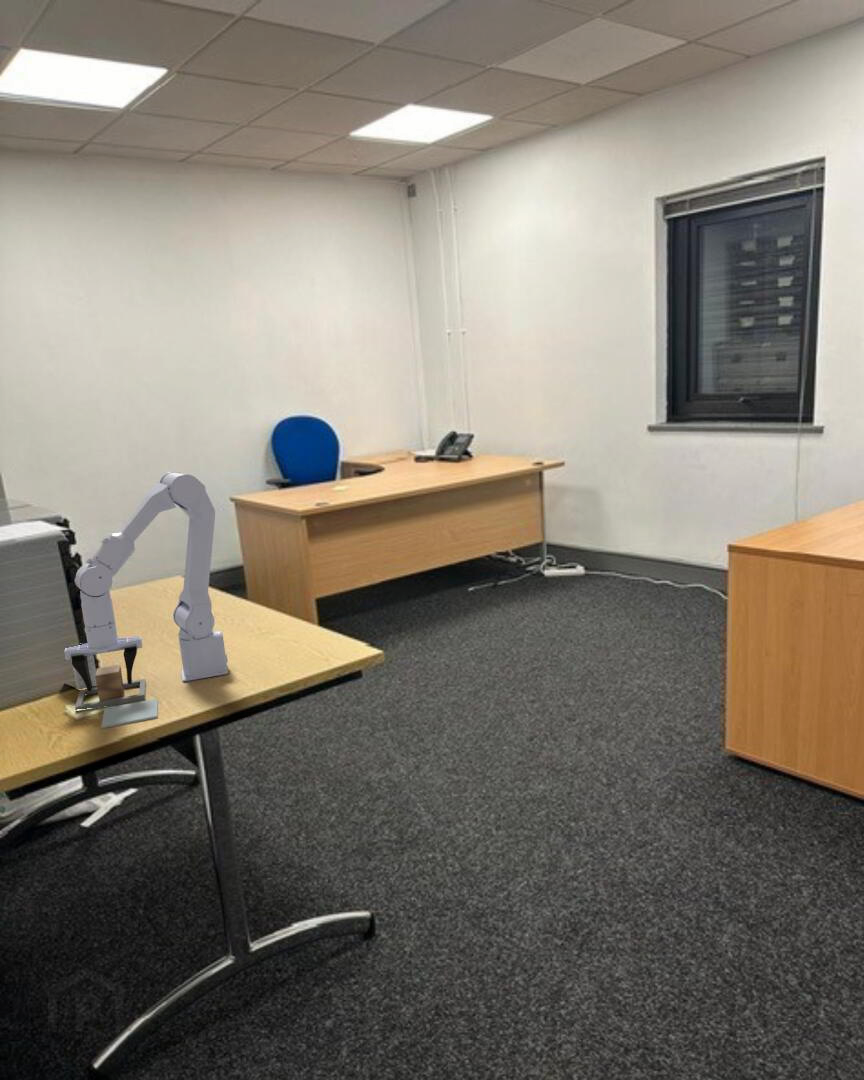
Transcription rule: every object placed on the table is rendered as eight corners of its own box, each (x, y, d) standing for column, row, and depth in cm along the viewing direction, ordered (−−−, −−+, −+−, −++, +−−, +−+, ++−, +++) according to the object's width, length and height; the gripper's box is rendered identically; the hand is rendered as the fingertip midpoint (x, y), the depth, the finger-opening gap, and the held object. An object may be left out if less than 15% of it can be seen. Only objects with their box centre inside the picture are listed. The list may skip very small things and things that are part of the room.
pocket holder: (146, 683, 168) (145, 678, 167) (145, 699, 159) (144, 694, 159) (80, 694, 164) (79, 690, 163) (76, 712, 155) (75, 707, 155)
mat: (157, 700, 158) (157, 698, 158) (157, 717, 150) (157, 715, 149) (105, 710, 155) (104, 708, 155) (101, 728, 147) (101, 726, 146)
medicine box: (99, 685, 168) (92, 647, 167) (78, 692, 165) (72, 653, 163) (83, 677, 174) (76, 640, 172) (62, 684, 170) (56, 647, 169)
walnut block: (124, 691, 164) (120, 664, 163) (123, 699, 160) (119, 671, 159) (101, 695, 163) (97, 668, 161) (99, 703, 158) (95, 675, 157)
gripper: (58, 634, 152) (69, 699, 155) (137, 622, 156) (146, 686, 159) (62, 624, 158) (73, 687, 161) (138, 613, 163) (147, 674, 166)
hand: (110, 685), depth 161 cm, fingers open, 7 cm apart
